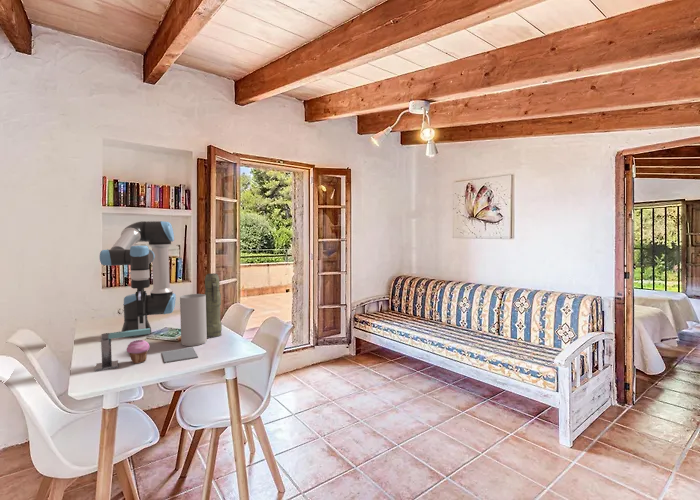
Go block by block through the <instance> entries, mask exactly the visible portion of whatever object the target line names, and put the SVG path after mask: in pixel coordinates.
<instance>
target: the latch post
mask: <svg viewBox="0 0 700 500" xmlns="http://www.w3.org/2000/svg"><path fill="white" fill-rule="evenodd" d="M100 346H101V347H100V349H101V350H100V351H101V352H100V353H101V362H99V363H96V364H95V367H94V368H95V369H94V371H95V372H101V371H107V370H113V369H118V367H119V360H118V359H117V360H112V359H113V357H112V356H113V355H112V339H106V340H102V338H101V340H100Z"/></svg>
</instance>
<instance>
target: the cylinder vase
mask: <svg viewBox="0 0 700 500" xmlns="http://www.w3.org/2000/svg"><path fill="white" fill-rule="evenodd" d="M179 310H180V315H179V316H180V343H181V345H183V346H186V347H193V346H194V347H195V346H200V345H203V344H205V343H206V342H207V340H208V339H207V338H208V337H207V326H206V295H205V293H204V294H202V293H194V294H193V293H190V294H183V295H180V296H179Z"/></svg>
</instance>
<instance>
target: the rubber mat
mask: <svg viewBox="0 0 700 500" xmlns="http://www.w3.org/2000/svg"><path fill="white" fill-rule="evenodd" d="M161 355H162V359H163V363H164V364H168V363H169V364H170V363H174V362H179V361H180V362H181V361H186V360H193V359H198V358H199V356H198V354H197V352H196V350H195V348H194V347H193V346H191V347H186V348H181V349H173V350H166V351H162V352H161Z"/></svg>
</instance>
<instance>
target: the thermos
mask: <svg viewBox="0 0 700 500" xmlns="http://www.w3.org/2000/svg"><path fill="white" fill-rule="evenodd" d="M204 289H205V290H204V294H205V295H206V326H207V338H217V337H221V336H222V330H223V329H222V321H221V306H222V305H221V304H222V299H221V298H222V295H221V293H220V277H219V274H217V273H215V272H214V273H207V274H206V275H205V278H204Z"/></svg>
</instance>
